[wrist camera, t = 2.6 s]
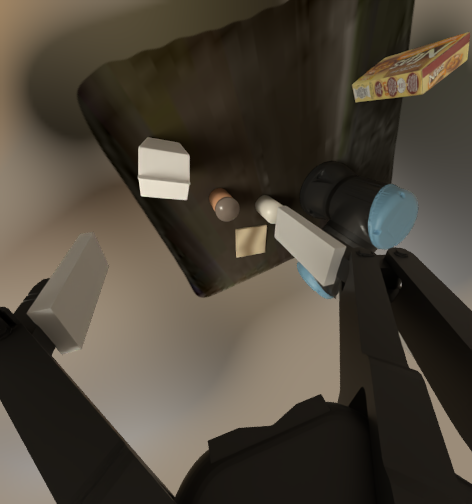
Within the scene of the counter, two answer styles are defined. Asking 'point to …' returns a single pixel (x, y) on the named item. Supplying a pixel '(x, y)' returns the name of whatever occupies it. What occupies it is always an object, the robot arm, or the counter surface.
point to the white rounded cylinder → (267, 208)
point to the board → (250, 240)
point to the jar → (224, 204)
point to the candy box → (412, 70)
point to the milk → (163, 169)
